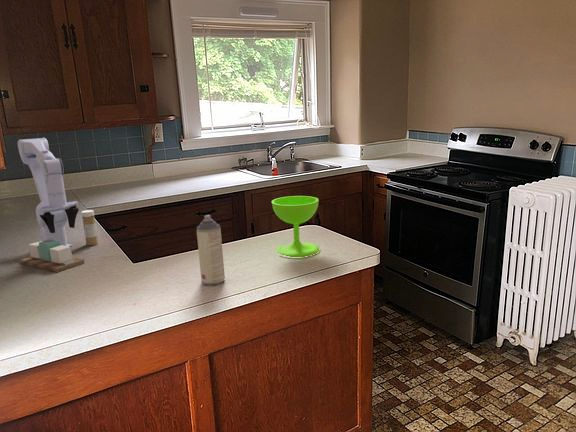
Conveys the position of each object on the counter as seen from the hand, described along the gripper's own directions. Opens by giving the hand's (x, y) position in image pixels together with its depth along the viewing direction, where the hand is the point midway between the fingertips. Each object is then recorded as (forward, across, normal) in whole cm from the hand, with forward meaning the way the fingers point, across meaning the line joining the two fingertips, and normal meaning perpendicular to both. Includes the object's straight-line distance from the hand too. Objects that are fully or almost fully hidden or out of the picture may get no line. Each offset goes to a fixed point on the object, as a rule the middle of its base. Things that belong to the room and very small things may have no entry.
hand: (62, 230), depth 168 cm
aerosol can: (+10, +3, -68) cm, 69 cm away
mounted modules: (+8, -8, -4) cm, 12 cm away
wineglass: (+10, +38, -76) cm, 85 cm away
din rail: (+8, -8, -4) cm, 12 cm away
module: (+8, -8, -4) cm, 12 cm away
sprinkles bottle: (+10, +13, +3) cm, 17 cm away
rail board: (+9, -8, -4) cm, 13 cm away
